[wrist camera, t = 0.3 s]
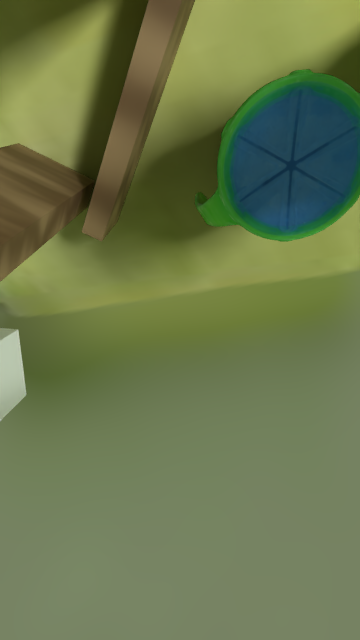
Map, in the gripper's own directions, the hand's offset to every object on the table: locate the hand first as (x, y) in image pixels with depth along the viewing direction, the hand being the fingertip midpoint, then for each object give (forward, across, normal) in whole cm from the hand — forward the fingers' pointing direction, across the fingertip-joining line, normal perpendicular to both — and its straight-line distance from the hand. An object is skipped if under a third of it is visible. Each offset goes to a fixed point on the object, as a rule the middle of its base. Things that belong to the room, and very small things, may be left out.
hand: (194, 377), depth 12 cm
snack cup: (+25, +5, +11) cm, 28 cm away
